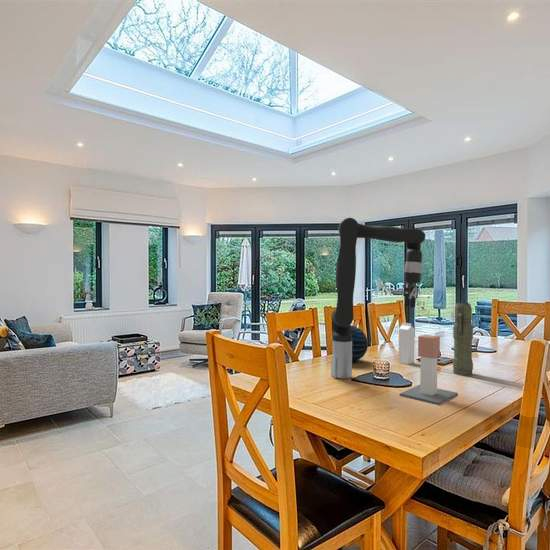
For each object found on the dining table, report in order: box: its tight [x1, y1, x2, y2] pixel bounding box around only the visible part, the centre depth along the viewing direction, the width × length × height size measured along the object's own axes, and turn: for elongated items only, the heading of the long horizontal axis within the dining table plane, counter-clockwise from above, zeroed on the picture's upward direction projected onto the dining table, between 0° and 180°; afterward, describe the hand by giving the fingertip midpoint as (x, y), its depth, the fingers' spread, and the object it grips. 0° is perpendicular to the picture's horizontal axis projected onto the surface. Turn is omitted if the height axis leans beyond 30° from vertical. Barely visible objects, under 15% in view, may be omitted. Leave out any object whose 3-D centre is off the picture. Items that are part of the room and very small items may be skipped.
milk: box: [398, 322, 415, 365], centre depth 217 cm, size 6×6×22 cm
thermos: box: [452, 301, 474, 377], centre depth 194 cm, size 9×12×35 cm
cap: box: [417, 334, 441, 358], centre depth 159 cm, size 6×6×8 cm
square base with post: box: [399, 356, 458, 406], centre depth 159 cm, size 18×16×18 cm
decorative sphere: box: [331, 325, 369, 363], centre depth 220 cm, size 20×20×20 cm
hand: (409, 306), depth 182 cm, fingers open, 8 cm apart
